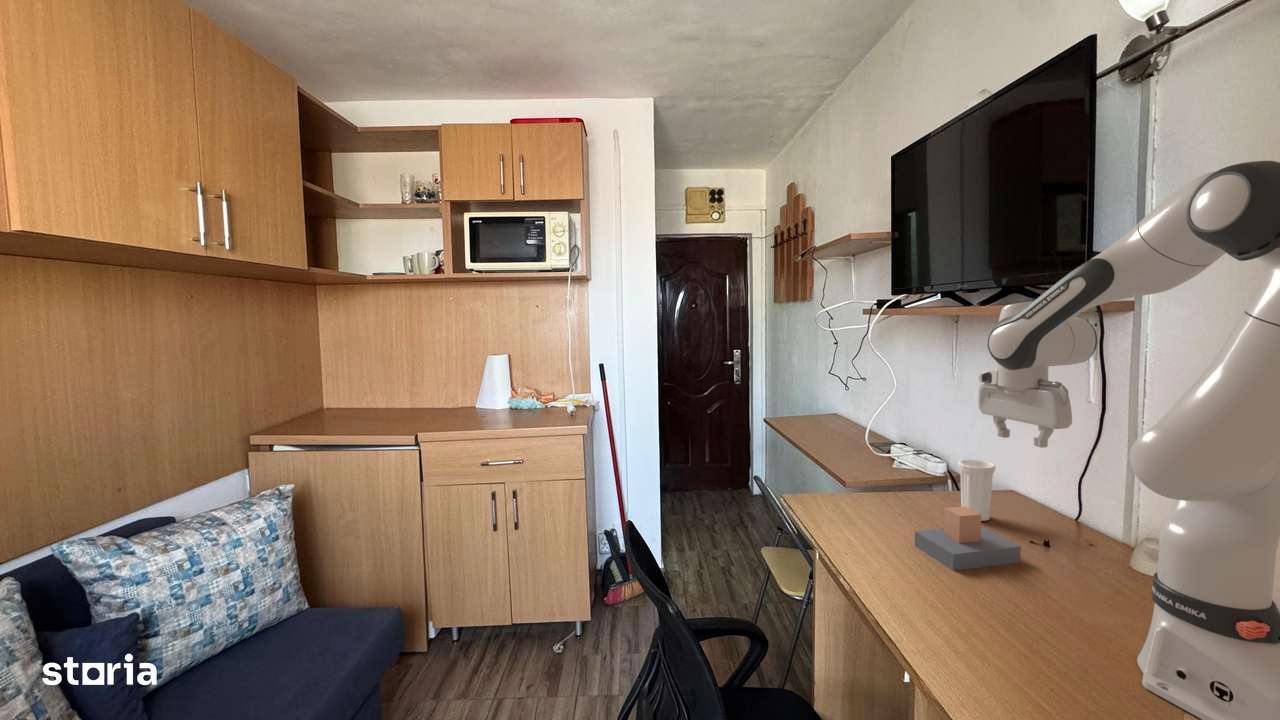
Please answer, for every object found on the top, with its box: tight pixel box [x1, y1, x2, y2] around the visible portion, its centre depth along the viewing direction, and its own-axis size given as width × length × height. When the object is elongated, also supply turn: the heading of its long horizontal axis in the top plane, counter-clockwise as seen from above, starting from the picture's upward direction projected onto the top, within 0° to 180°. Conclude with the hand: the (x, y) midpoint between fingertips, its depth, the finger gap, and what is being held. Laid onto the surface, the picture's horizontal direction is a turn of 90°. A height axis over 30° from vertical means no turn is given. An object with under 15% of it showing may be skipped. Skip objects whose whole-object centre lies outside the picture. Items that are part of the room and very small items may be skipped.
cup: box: [957, 458, 996, 522], centre depth 136 cm, size 8×8×14 cm
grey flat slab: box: [914, 526, 1022, 572], centre depth 118 cm, size 12×16×4 cm
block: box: [943, 506, 982, 543], centre depth 118 cm, size 5×5×6 cm
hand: (1021, 441), depth 114 cm, fingers open, 8 cm apart
